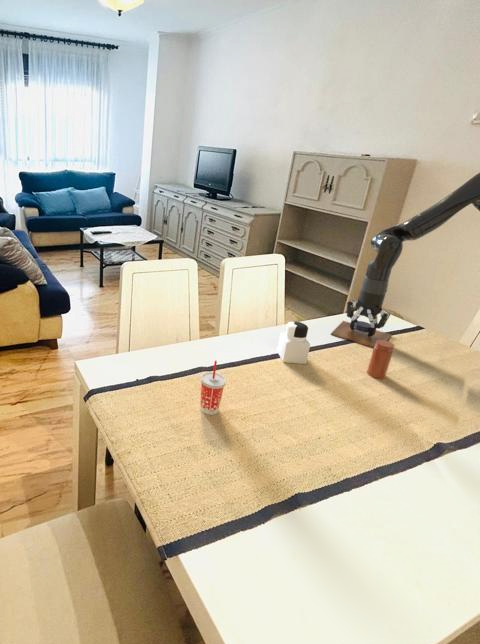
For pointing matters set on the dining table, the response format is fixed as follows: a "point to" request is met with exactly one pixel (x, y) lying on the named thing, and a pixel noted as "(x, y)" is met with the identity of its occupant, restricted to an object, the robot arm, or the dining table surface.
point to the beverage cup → (211, 391)
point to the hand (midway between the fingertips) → (361, 332)
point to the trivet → (359, 335)
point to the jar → (380, 359)
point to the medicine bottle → (294, 343)
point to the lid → (362, 326)
